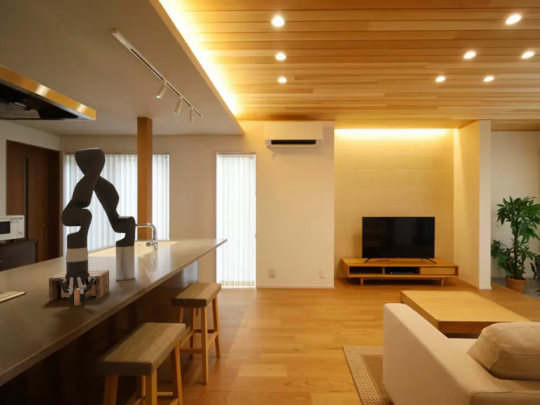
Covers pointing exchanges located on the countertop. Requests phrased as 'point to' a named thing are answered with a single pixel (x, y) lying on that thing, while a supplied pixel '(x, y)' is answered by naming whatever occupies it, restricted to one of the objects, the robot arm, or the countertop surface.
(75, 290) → the tethered block
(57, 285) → the walnut shelf
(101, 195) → the robot arm
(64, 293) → the maple block
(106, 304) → the countertop surface
